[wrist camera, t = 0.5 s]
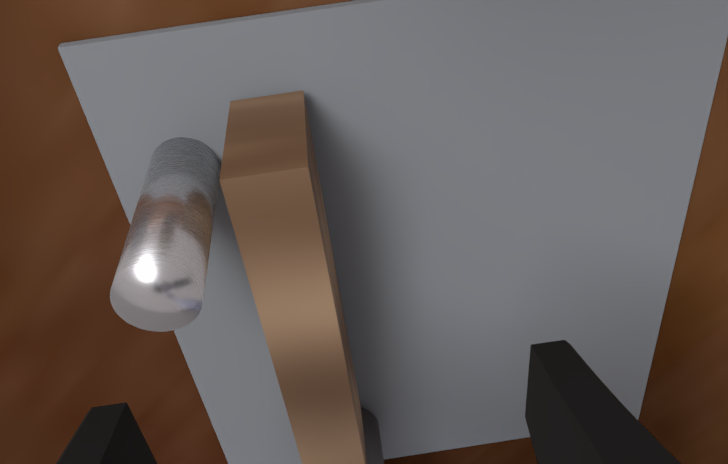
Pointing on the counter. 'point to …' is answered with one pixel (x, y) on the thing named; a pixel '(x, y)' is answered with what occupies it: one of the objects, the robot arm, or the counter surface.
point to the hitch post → (169, 238)
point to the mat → (437, 192)
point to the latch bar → (295, 276)
